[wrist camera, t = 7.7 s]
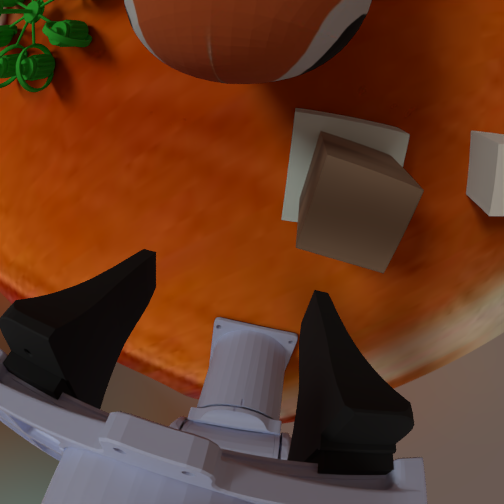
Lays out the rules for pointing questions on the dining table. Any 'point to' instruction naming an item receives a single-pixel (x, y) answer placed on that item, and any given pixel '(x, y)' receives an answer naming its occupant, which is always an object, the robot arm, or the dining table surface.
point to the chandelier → (42, 64)
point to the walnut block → (355, 203)
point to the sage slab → (339, 125)
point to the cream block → (487, 172)
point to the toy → (245, 35)
